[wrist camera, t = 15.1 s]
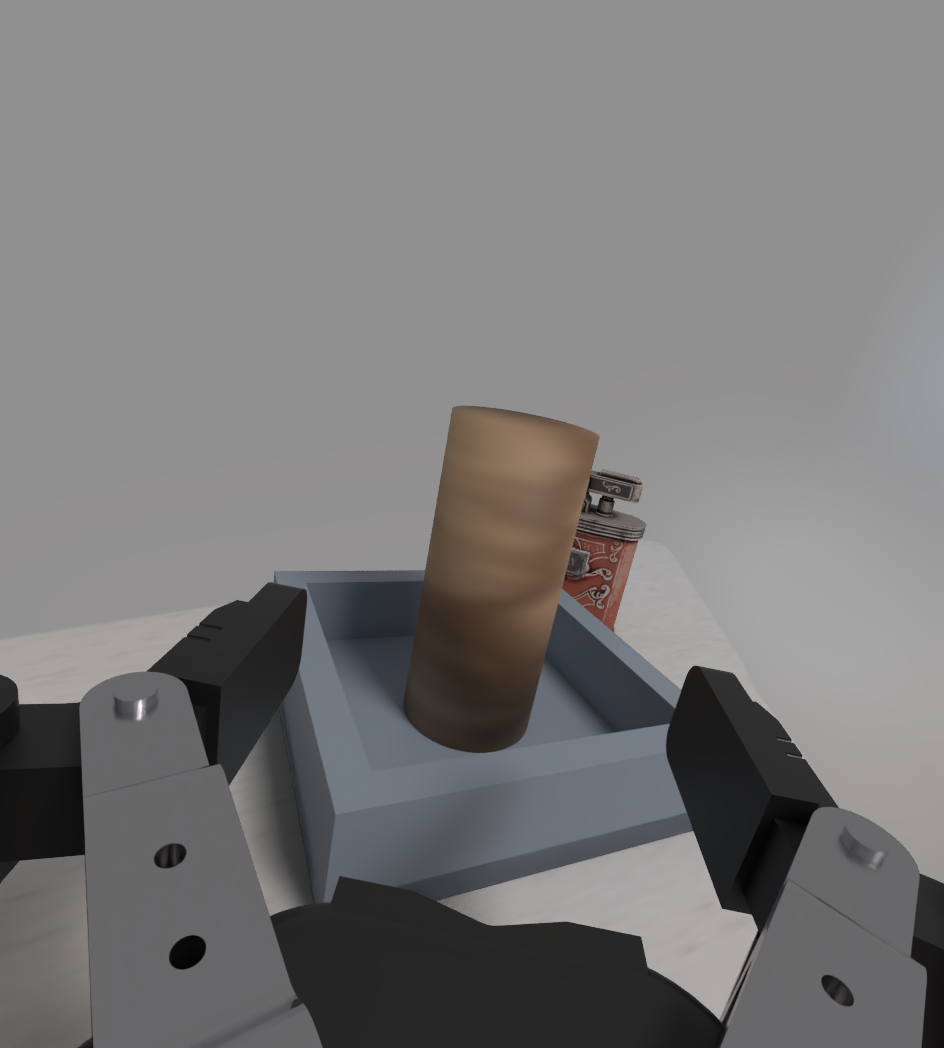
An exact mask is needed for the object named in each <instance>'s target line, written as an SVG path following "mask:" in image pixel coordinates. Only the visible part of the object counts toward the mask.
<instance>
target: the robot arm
mask: <svg viewBox="0 0 944 1048" xmlns="http://www.w3.org/2000/svg"><path fill="white" fill-rule="evenodd" d="M306 609H307V591H306V590H305V589H302V588H297V587H292V586H287V585H282V584H277V583H272V582H269V583H267V584H266V585H265V586H264V587H263V588H262V589H261V590H260V591H259V592H258V593H257V594H256V595H255V596H254V597H253V598H252V599H251V600H250V601H249V602H244V601H239V600H236V601H234V602H232V603H229V604H227V605H224V606H222V607H220V608H217V609H215V610H214V611H212V612H211V613H210V614H209V615H208V616H207V617H206V618H205V619H204V620H203V621H201V622H200V624H199V626H196V627H195V628H194V629H193V630H192V631H190V632H189V633H188V634H187V637H184V638H183V639H182V640H181V641H180V642H178V643H177V644H176V645H175V646H174V647H173V648H172V649H171V650H170V651H169V652H167V653H166V654H165V655H164V656H163V657H162V658H161V659H160V660H159V661H158V662H156V663H155V664H154V665H153V666H152V667H151V668H150V669H149V670H148V671H147V672H135V673H128V674H123V675H120V676H116V677H113V678H110V679H108V680H105V681H103V682H101V683H100V684H98V685H96V686H95V687H93V688H92V689H91V690H90V691H88V692H87V693H86V694H85V696H84V697H83V698H82V700H81V702H79V703H67V704H19V700H18V688H17V686H16V684H15V683H14V682H13V681H12V680H11V679H9V678H8V677H5V676H2V675H0V883H1V882H2V880H3V879H4V878H5V877H6V876H7V875H8V873H9V872H10V871H11V870H12V869H13V868H14V867H15V865H16V864H17V863H18V862H19V861H21V860H32V859H43V858H54V857H65V856H76V855H85V875H86V900H87V925H88V950H89V976H90V1002H91V1028H92V1038H90V1039H89V1040H87V1041H86V1042H85V1043H83V1044H82V1045H81V1046H79V1047H78V1048H944V884H943V883H941V882H939V881H936V880H934V879H931V878H929V877H927V876H925V875H922V874H920V873H919V870H918V866H917V864H916V862H915V860H914V859H913V857H912V856H911V855H910V853H909V852H908V851H907V850H906V848H905V847H904V846H903V845H902V844H901V843H900V842H899V841H898V840H896V839H895V838H894V837H893V836H892V835H891V834H889V833H888V832H887V831H885V830H884V829H883V828H881V827H880V826H878V825H876V824H875V823H873V822H872V821H870V820H868V819H866V818H864V817H862V816H860V815H858V814H855V813H853V812H850V811H847V810H844V809H840V808H839V807H838V806H837V805H836V803H835V802H834V800H833V799H832V797H831V796H830V794H829V793H828V792H827V790H826V789H825V787H824V786H823V784H822V783H821V782H820V780H819V779H818V777H817V776H816V774H815V773H814V771H813V770H812V769H811V767H810V766H809V764H808V763H807V761H806V760H805V759H802V754H801V753H800V751H799V750H798V748H797V747H796V745H795V744H794V743H791V738H790V737H789V735H788V734H787V732H786V731H785V730H784V728H783V727H782V725H781V724H780V722H779V721H778V720H777V719H776V718H775V717H773V716H772V715H771V714H770V713H769V712H768V711H766V710H765V709H764V708H763V707H762V706H761V705H759V704H758V703H757V702H753V701H752V700H751V699H750V697H749V696H748V694H747V693H746V691H745V690H744V688H743V687H742V685H741V684H740V682H739V680H738V679H737V677H736V676H735V675H734V674H733V673H730V672H725V671H720V670H715V669H710V668H705V667H700V666H693V667H692V668H691V669H690V670H689V672H688V674H687V676H686V679H685V682H684V685H683V688H682V690H681V693H680V696H679V699H678V702H677V705H676V708H675V710H674V713H673V716H672V719H671V722H670V725H669V728H668V732H667V738H666V754H667V759H668V762H669V765H670V768H671V771H672V773H673V776H674V779H675V781H676V784H677V787H678V790H679V792H680V795H681V798H682V801H683V803H684V806H685V809H686V812H687V814H688V817H689V820H690V822H691V825H692V828H693V831H694V833H695V836H696V839H697V842H698V844H699V847H700V850H701V852H702V855H703V858H704V861H705V863H706V866H707V869H708V872H709V874H710V877H711V880H712V882H713V885H714V888H715V891H716V893H717V896H718V899H719V902H720V904H721V907H722V909H727V910H732V911H737V912H742V913H747V914H751V915H752V916H753V918H754V921H755V923H756V926H757V928H758V931H757V933H756V935H755V938H754V940H753V942H752V944H751V947H750V949H749V951H748V954H747V956H746V958H745V961H744V963H743V965H742V968H741V970H740V972H739V975H738V977H737V980H736V982H735V984H734V987H733V989H732V991H731V994H730V996H729V998H728V1001H727V1003H726V1006H725V1008H724V1010H723V1013H722V1015H721V1017H720V1020H719V1019H718V1018H717V1017H716V1016H715V1015H714V1014H713V1013H712V1012H711V1011H710V1010H709V1009H707V1008H706V1007H705V1006H704V1005H703V1004H702V1003H700V1002H699V1001H698V1000H697V999H696V998H695V997H693V996H692V995H691V994H690V993H688V992H687V991H685V990H684V989H683V988H681V987H680V986H678V985H677V984H676V983H674V982H673V981H671V980H669V979H668V978H666V977H664V976H663V975H661V974H659V973H658V972H656V971H654V970H652V969H649V968H648V967H647V963H646V958H645V953H644V949H643V944H642V939H641V937H640V936H635V935H630V934H625V933H620V932H615V931H610V930H605V929H600V928H595V927H590V926H585V925H580V924H575V923H571V922H554V923H538V924H521V925H505V926H491V925H486V924H483V923H481V922H479V921H476V920H474V919H472V918H470V917H468V916H466V915H464V914H462V913H459V912H457V911H455V910H453V909H451V908H449V907H447V906H445V905H442V904H440V903H438V902H436V901H434V900H432V899H430V898H428V897H425V896H423V895H421V894H419V893H417V892H415V891H412V890H407V889H402V888H397V887H392V886H387V885H382V884H377V883H372V882H367V881H362V880H357V879H352V878H347V877H343V876H339V879H338V882H337V885H336V888H335V891H334V895H333V898H332V901H331V902H326V903H315V904H310V905H304V906H299V907H295V908H292V909H289V910H285V911H282V912H279V913H276V914H274V915H272V916H269V913H268V909H267V906H266V903H265V900H264V897H263V894H262V890H261V887H260V884H259V881H258V878H257V874H256V871H255V868H254V865H253V862H252V859H251V855H250V852H249V849H248V846H247V843H246V839H245V836H244V833H243V830H242V827H241V823H240V820H239V817H238V814H237V811H236V808H235V804H234V801H233V798H232V795H231V792H230V788H229V785H230V783H231V782H232V780H233V779H234V777H235V775H236V774H237V772H238V771H239V769H240V768H241V766H242V764H243V763H244V761H245V760H246V758H247V757H248V755H249V753H250V752H251V750H252V749H253V747H254V745H255V744H256V742H257V741H258V739H259V738H260V736H261V734H262V733H263V731H264V730H265V728H266V727H267V725H268V723H269V722H270V720H271V719H272V717H273V716H274V714H275V712H276V711H277V709H278V708H279V706H280V704H281V703H282V701H283V700H284V698H285V697H286V695H287V693H288V692H289V690H290V689H291V687H292V685H293V683H294V681H295V679H296V676H297V673H298V670H299V666H300V662H301V656H302V647H303V637H304V628H305V618H306Z"/></svg>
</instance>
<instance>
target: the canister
mask: <svg viewBox="0 0 944 1048" xmlns="http://www.w3.org/2000/svg"><path fill="white" fill-rule="evenodd" d="M598 441H599V436H598V435H597V434H596V433H594V432H592V431H590V430H587V429H584V428H582V427H578V426H575V425H572V424H569V423H565V422H562V421H558V420H553V419H550V418H545V417H541V416H536V415H531V414H526V413H521V412H515V411H509V410H503V409H496V408H487V407H477V406H457V407H453V409H452V414H451V420H450V426H449V432H448V439H447V444H446V450H445V456H444V462H443V468H442V474H441V480H440V486H439V492H438V498H437V504H436V510H435V516H434V522H433V528H432V534H431V540H430V546H429V553H428V558H427V564H426V570H425V576H424V582H423V588H422V594H421V600H420V606H419V612H418V618H417V624H416V630H415V636H414V642H413V648H412V654H411V660H410V666H409V672H408V678H407V684H406V690H405V696H404V711H405V713H406V716H407V718H408V720H409V721H410V723H411V724H412V725H413V726H414V728H416V729H417V730H418V731H419V732H420V733H421V734H422V735H424V736H425V737H427V738H428V739H430V740H432V741H433V742H435V743H438V744H440V745H442V746H445V747H447V748H450V749H454V750H458V751H463V752H471V753H488V752H495V751H500V750H503V749H506V748H508V747H510V746H512V745H514V744H515V743H517V742H518V741H519V740H520V739H521V738H522V737H523V736H524V734H525V732H526V730H527V727H528V723H529V719H530V715H531V711H532V707H533V703H534V699H535V695H536V691H537V687H538V683H539V679H540V675H541V671H542V667H543V663H544V659H545V654H546V650H547V646H548V642H549V638H550V634H551V630H552V626H553V622H554V618H555V614H556V610H557V606H558V602H559V598H560V594H561V590H562V586H563V582H564V578H565V574H566V570H567V566H568V562H569V558H570V554H571V550H572V546H573V542H574V538H575V534H576V530H577V526H578V522H579V518H580V514H581V510H582V506H583V502H584V498H585V494H586V490H587V486H588V482H589V478H590V474H591V469H592V465H593V461H594V457H595V453H596V449H597V445H598Z"/></svg>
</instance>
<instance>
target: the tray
mask: <svg viewBox="0 0 944 1048" xmlns="http://www.w3.org/2000/svg"><path fill="white" fill-rule="evenodd" d="M424 576H425V570H423V571H422V570H421V571H420V570H418V571H280V572H279V571H275V572H274V583H277V584H282V585H287V586H292V587H297V588H302V589H305V590H306V591H307V609H306V618H305V628H304V637H303V647H302V656H301V662H300V666H299V670H298V673H297V676H296V679H295V681H294V683H293V685H292V687H291V689H290V690H289V692H288V693H287V695H286V697H285V698H284V700H283V701H282V703H281V704H280V706H279V710H280V716H281V721H282V727H283V732H284V738H285V743H286V749H287V754H288V760H289V765H290V771H291V776H292V782H293V787H294V793H295V798H296V804H297V809H298V815H299V820H300V826H301V831H302V837H303V842H304V848H305V853H306V859H307V864H308V870H309V875H310V881H311V886H312V892H313V897H314V903H326V902H331V901H332V898H333V895H334V891H335V888H336V885H337V882H338V879H339V876H343V877H347V878H352V879H357V880H362V881H367V882H372V883H377V884H382V885H387V886H392V887H397V888H402V889H407V890H412V891H415V892H417V893H419V894H421V895H423V896H425V897H428V898H430V899H432V900H434V901H436V900H440V899H443V898H447V897H451V896H454V895H458V894H462V893H465V892H469V891H473V890H476V889H480V888H484V887H487V886H491V885H495V884H498V883H502V882H506V881H509V880H513V879H517V878H520V877H524V876H528V875H531V874H535V873H539V872H543V871H546V870H550V869H554V868H557V867H561V866H565V865H568V864H572V863H576V862H579V861H583V860H587V859H590V858H594V857H598V856H601V855H605V854H609V853H612V852H616V851H620V850H623V849H627V848H631V847H634V846H638V845H642V844H645V843H649V842H653V841H656V840H660V839H664V838H667V837H671V836H675V835H678V834H682V833H686V832H689V831H693V828H692V825H691V822H690V820H689V817H688V814H687V812H686V809H685V806H684V803H683V801H682V798H681V795H680V792H679V790H678V787H677V784H676V781H675V779H674V776H673V773H672V771H671V768H670V765H669V762H668V759H667V754H666V738H667V732H668V728H669V725H670V722H671V719H672V716H673V713H674V710H675V708H676V705H677V702H678V699H679V696H680V693H681V689H679V688H678V687H677V686H676V685H675V684H674V683H672V682H671V681H670V680H669V679H668V678H667V677H665V676H664V675H663V674H662V673H661V672H659V671H658V670H657V669H656V668H655V667H654V666H652V665H651V664H650V663H649V662H648V661H647V660H645V659H644V658H643V657H642V656H641V655H640V654H638V653H637V652H636V651H635V650H634V649H632V648H631V647H630V646H629V645H628V644H627V643H625V642H624V641H623V640H622V639H621V638H620V637H618V636H617V635H616V634H615V633H614V632H612V631H611V630H610V629H609V628H608V627H607V626H605V625H604V624H603V623H602V622H601V621H600V620H598V619H597V618H596V617H595V616H594V615H593V614H591V613H590V612H589V611H588V610H587V609H585V608H584V607H583V606H582V605H581V604H580V603H578V602H577V601H576V600H575V599H574V598H573V597H571V596H570V595H569V594H568V593H567V592H565V591H564V590H563V589H562V590H561V594H560V598H559V602H558V606H557V610H556V614H555V618H554V622H553V626H552V630H551V634H550V638H549V642H548V646H547V650H546V654H545V659H544V663H543V667H542V671H541V675H540V679H539V683H538V687H537V691H536V695H535V699H534V703H533V707H532V711H531V715H530V719H529V723H528V727H527V730H526V732H525V734H524V736H523V737H522V738H521V739H520V740H519V741H518V742H517V743H515V744H514V745H512V746H510V747H508V748H506V749H503V750H500V751H495V752H488V753H471V752H463V751H458V750H454V749H450V748H447V747H445V746H442V745H440V744H438V743H435V742H433V741H432V740H430V739H428V738H427V737H425V736H424V735H422V734H421V733H420V732H419V731H418V730H417V729H416V728H414V726H413V725H412V724H411V723H410V721H409V720H408V718H407V716H406V713H405V711H404V696H405V690H406V684H407V678H408V672H409V666H410V660H411V654H412V648H413V642H414V636H415V630H416V624H417V618H418V612H419V606H420V600H421V594H422V588H423V582H424Z"/></svg>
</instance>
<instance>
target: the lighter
mask: <svg viewBox="0 0 944 1048" xmlns="http://www.w3.org/2000/svg"><path fill="white" fill-rule="evenodd" d="M640 481H641V479H640V478H637V477H634V476H629V475H625V474H621V473H617V472H612V471H608V470H604V469H602V470H601V471H600V472H597V471H593V470H591V474H590V478H589V482H588V486H587V490H586V494H585V498H584V502H583V506H582V510H581V514H580V518H579V522H578V526H577V530H576V534H575V538H574V542H573V546H572V550H571V554H570V558H569V562H568V566H567V570H566V574H565V578H564V582H563V586H562V589H563V590H564V591H565V592H567V593H568V594H569V595H570V596H571V597H573V598H574V599H575V600H576V601H577V602H578V603H580V604H581V605H582V606H583V607H584V608H585V609H587V610H588V611H589V612H590V613H591V614H593V615H594V616H595V617H596V618H597V619H598V620H600V621H601V622H602V623H603V624H604V625H605V626H607V627H608V628H609V629H610V630H611V631H612V632H614V633H615V627H614V623H615V620H616V616H617V613H618V609H619V606H620V602H621V599H622V595H623V592H624V588H625V585H626V582H627V578H628V575H629V571H630V568H631V564H632V561H633V557H634V554H635V550H636V547H637V543H638V540H641V539H642V538H643V534H644V531H645V527H646V524H645V522H643V521H642V520H640V519H638V518H636V517H633V516H631V515H627V514H624V513H621V512H617V511H614V510H613V506H614V503H615V502H614V501H613V499H614V498H617V499H620V500H624V501H628V502H633V503H638V502H639V498H640V495H641V491H642V488H643V483H641V482H640ZM589 492H592V493H596V494H601V495H603V496H602V498H600V500H599V504H598V506H597V505H593V504H591V501H592V497H591V496H590V495H589Z"/></svg>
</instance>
